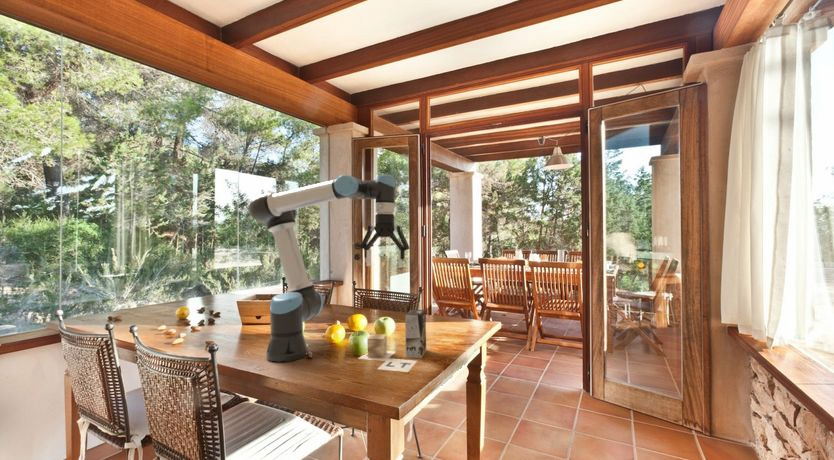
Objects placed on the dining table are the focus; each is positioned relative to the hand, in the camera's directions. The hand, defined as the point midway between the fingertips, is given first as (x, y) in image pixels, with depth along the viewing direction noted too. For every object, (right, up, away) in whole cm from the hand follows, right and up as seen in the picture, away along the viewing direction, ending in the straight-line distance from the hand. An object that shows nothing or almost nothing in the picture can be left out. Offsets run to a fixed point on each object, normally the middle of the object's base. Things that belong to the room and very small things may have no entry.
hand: (384, 266), depth 148 cm
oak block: (-2, -33, -8) cm, 34 cm away
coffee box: (+13, -33, -7) cm, 36 cm away
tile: (+6, -33, -18) cm, 38 cm away
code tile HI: (-2, -33, -8) cm, 34 cm away
